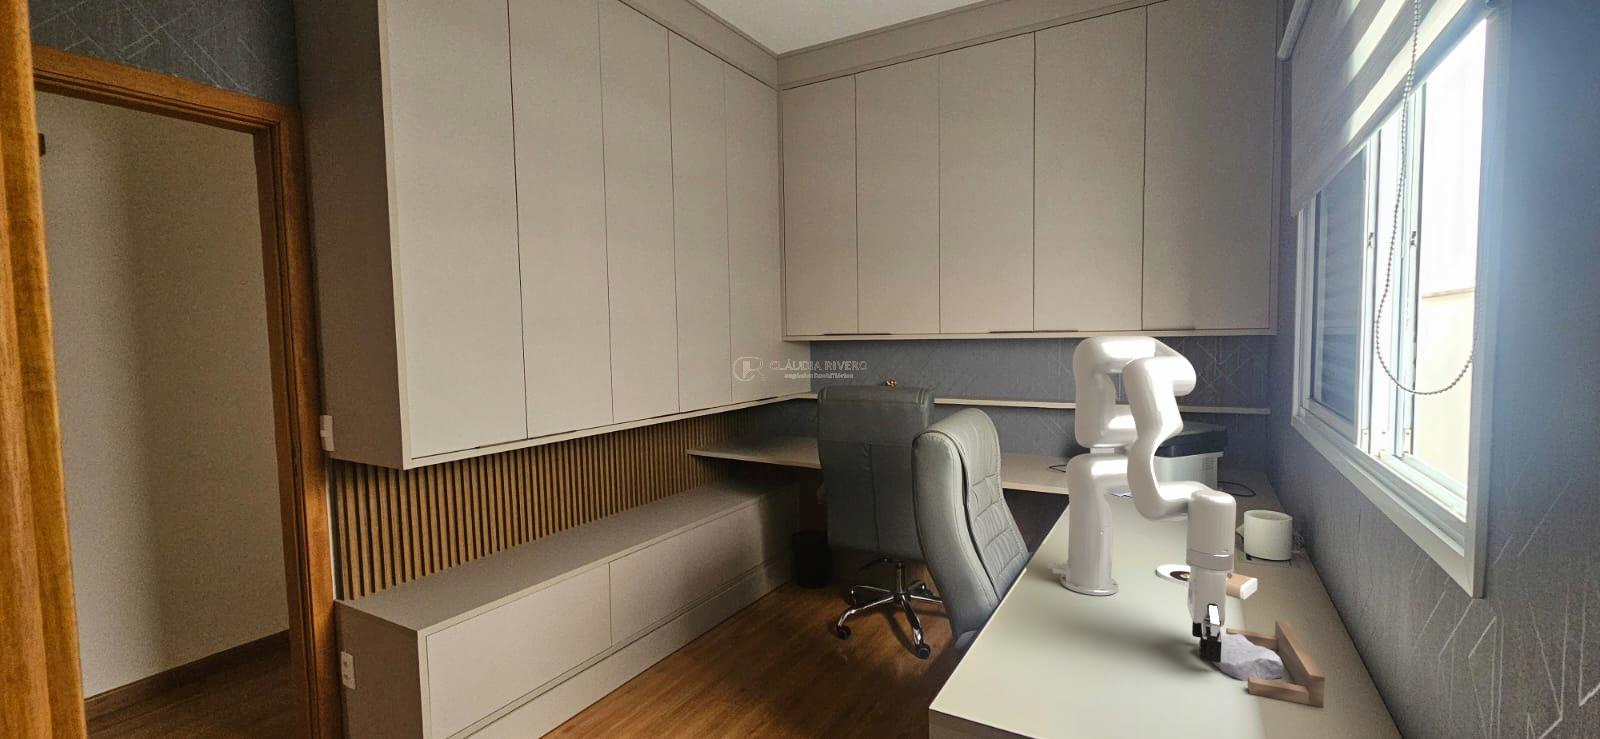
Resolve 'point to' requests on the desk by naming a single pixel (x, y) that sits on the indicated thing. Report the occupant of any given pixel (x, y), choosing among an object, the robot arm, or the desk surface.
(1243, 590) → the record player
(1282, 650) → the walnut frame
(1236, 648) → the stone block
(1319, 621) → the desk surface
